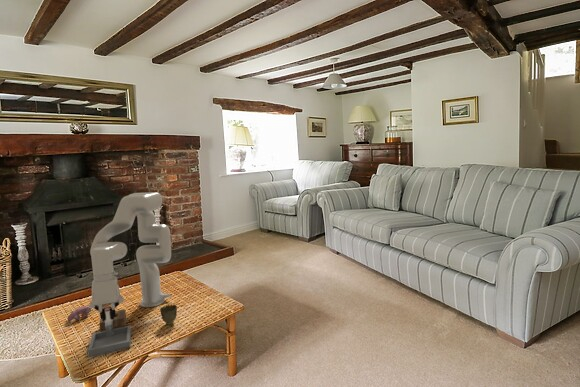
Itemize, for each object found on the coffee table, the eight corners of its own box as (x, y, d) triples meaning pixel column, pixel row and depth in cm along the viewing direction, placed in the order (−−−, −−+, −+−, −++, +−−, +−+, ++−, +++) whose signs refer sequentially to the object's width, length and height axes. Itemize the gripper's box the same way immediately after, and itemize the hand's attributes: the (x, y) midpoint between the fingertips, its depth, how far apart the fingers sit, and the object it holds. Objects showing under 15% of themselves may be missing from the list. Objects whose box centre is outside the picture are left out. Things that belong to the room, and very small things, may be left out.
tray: (131, 331, 157) (130, 325, 157) (130, 348, 143) (129, 341, 143) (93, 339, 151) (92, 333, 151) (88, 357, 138) (87, 350, 137)
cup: (161, 322, 165) (159, 306, 164) (177, 318, 168) (175, 302, 167) (162, 329, 158) (160, 312, 157) (178, 325, 161) (177, 309, 160)
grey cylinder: (114, 332, 148) (111, 305, 147) (113, 335, 146) (110, 307, 144) (106, 333, 147) (103, 306, 146) (105, 336, 145) (102, 309, 143)
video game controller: (71, 325, 169) (73, 314, 166) (66, 320, 170) (68, 309, 168) (91, 317, 177) (93, 306, 175) (86, 311, 179) (88, 301, 176)
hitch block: (126, 321, 168) (125, 309, 167) (125, 330, 158) (124, 317, 158) (103, 325, 164) (101, 313, 163) (100, 335, 155) (99, 322, 154)
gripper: (126, 270, 150) (130, 311, 152) (82, 277, 144) (87, 319, 146) (125, 275, 144) (129, 318, 145) (79, 282, 137) (84, 327, 139)
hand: (108, 318), depth 146 cm, fingers closed on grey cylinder, 2 cm apart
